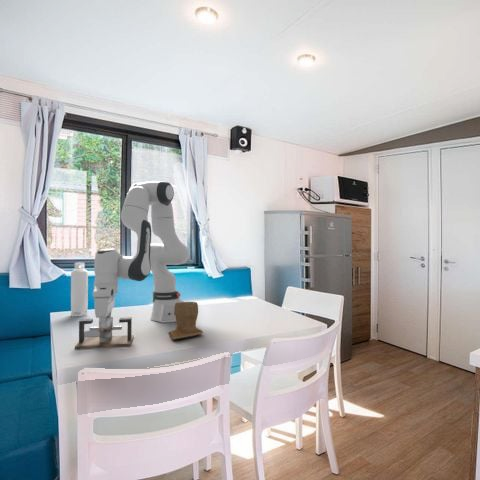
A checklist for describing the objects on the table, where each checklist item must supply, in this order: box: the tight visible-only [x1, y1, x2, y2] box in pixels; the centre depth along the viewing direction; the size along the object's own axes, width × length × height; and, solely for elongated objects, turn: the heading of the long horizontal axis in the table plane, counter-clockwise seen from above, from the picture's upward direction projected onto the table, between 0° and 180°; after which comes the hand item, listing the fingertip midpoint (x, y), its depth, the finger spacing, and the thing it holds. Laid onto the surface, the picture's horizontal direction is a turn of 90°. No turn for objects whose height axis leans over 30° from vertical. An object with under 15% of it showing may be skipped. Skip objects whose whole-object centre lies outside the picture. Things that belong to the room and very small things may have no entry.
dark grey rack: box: [74, 316, 134, 350], centre depth 131 cm, size 20×11×10 cm, turn 102°
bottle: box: [70, 261, 89, 317], centre depth 176 cm, size 8×8×28 cm
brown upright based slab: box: [168, 301, 204, 341], centre depth 141 cm, size 15×12×15 cm
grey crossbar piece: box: [88, 316, 123, 332], centre depth 131 cm, size 12×5×5 cm, turn 102°
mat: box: [84, 330, 100, 337], centre depth 142 cm, size 9×9×1 cm
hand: (105, 323), depth 131 cm, fingers open, 8 cm apart
